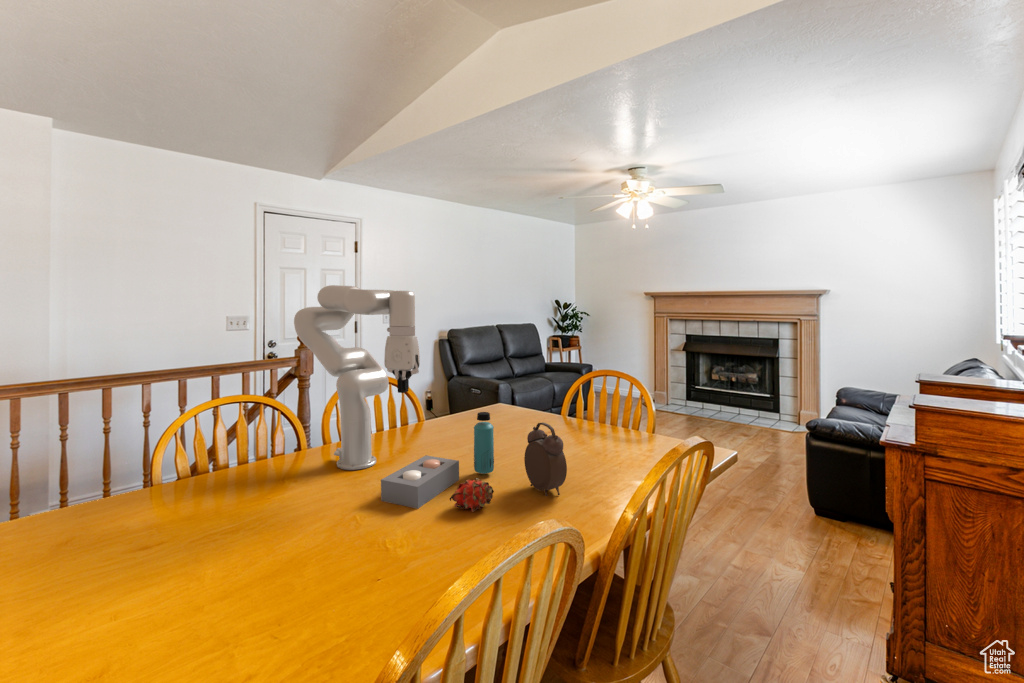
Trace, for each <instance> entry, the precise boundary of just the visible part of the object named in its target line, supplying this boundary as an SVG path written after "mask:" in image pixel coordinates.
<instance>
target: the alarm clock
mask: <svg viewBox="0 0 1024 683" xmlns="http://www.w3.org/2000/svg"><path fill="white" fill-rule="evenodd" d="M541 425H542V426H543V427H546V428H547V429H549V431H550V433H551V434H550V435H548V434H547V433H546V432H545V431H544V430H543V429H539V428H540V426H541ZM532 429H533V430H532V431H530V432H528V435H527V443H528V444H527V446H526V448H525V451H524V457H523V458H524V467H525V468H524V469H525V472H526V473H525V474H526V476H527V478H528V480H529V482H530V484H529V485H530V487H533V488H534V489H536V490H537V491H539V492H543V491H544V495H545V497H547V496H548V491H551V490H554V489H555V491H556V493H557V496H561V495H560V489H559V488H560V487H561V486H563V484H564V483H565V482H566V479H567V474H568V473H567V472H568V468H567V460H566V456H565V454H564V441H563V440H562V438H561V437H560V436H558V435H557V434H556V432H555V429H554V428H553V426H551V425H550V424H548V423H546V422H538V423H536V426H533V428H532Z"/></svg>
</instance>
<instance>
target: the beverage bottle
mask: <svg viewBox="0 0 1024 683" xmlns="http://www.w3.org/2000/svg"><path fill="white" fill-rule="evenodd" d="M476 420H477V421H479V422H477V423H476V424H475V425H474V426H473V469H474V472H475V473H478V474H489V473H492V472H493V471H494V468H495V447H494V445H495V441H494V425H493V424H492V423H491V422H489V421H490V420H491V413H490V412H489V411H488V412H487V411H479V412H477V416H476Z"/></svg>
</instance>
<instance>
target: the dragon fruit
mask: <svg viewBox="0 0 1024 683" xmlns="http://www.w3.org/2000/svg"><path fill="white" fill-rule="evenodd" d="M494 492H495V491H494V488H493V487H492V486H491V485H490V483H489V482H487V481H482V480H481V479H480V478H477V477H476V478H475V479H466V480H465V481H464V482H462V483H459V484H458V487H457V488H456V490H455V491H454V492H453V494H452V495H451V496H450V497H449V501H450V502H452V501H453V502H455V503H454V507H455V508H457V509H464V510H468V509H471V512H472V513H473V512H475V511H477V510H478V509H479V510H480V509H483V507H484V506H485V505H490V504H491V502H492V499H493V497H494V495H493V494H494Z"/></svg>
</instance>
